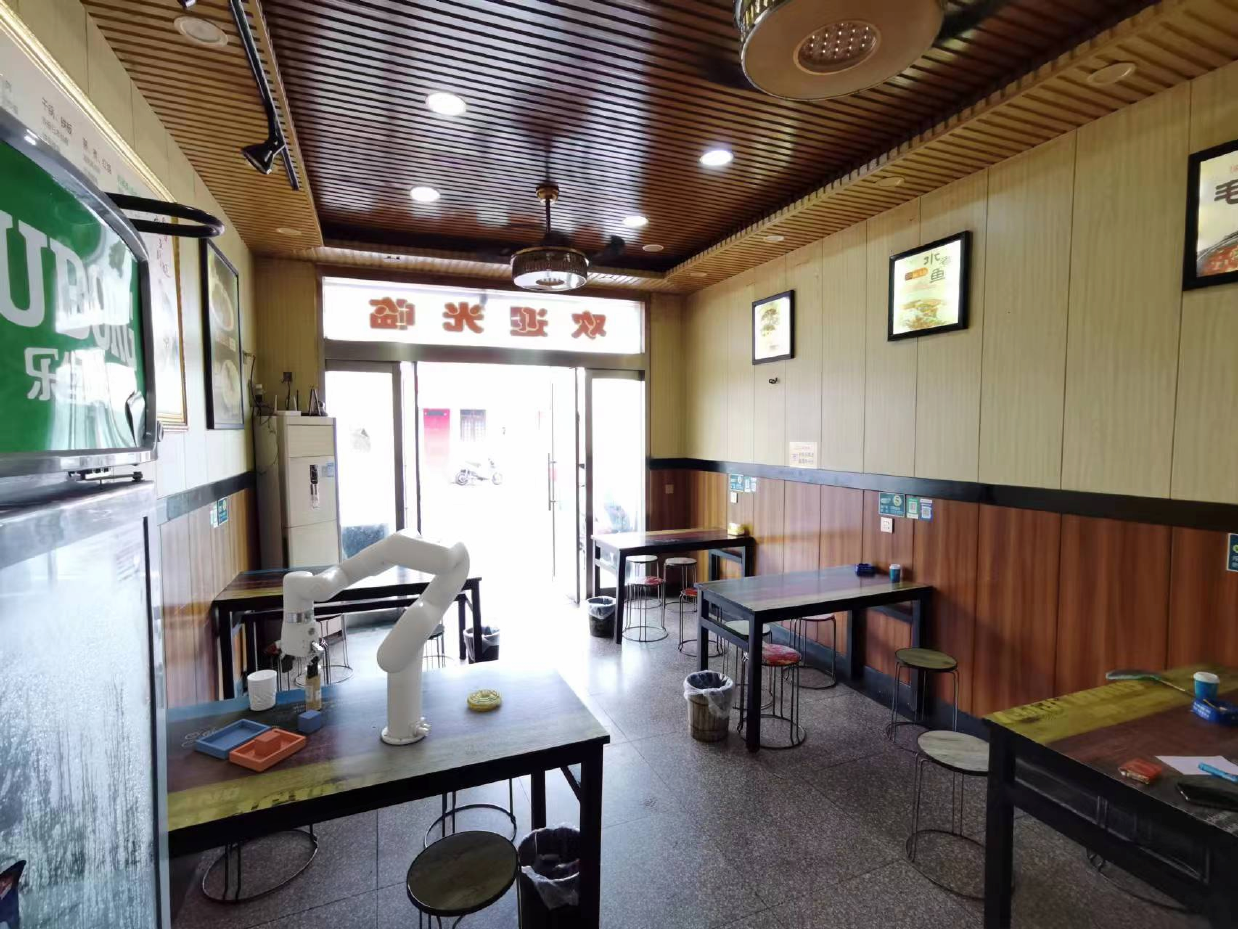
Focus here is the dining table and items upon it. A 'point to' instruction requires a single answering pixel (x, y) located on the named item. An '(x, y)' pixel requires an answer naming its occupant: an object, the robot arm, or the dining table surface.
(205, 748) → the slate-blue tray
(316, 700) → the sprinkles bottle
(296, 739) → the terracotta tray
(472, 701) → the decorated donut
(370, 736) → the dining table surface
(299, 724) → the slate-blue block
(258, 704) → the white cup
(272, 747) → the terracotta block
